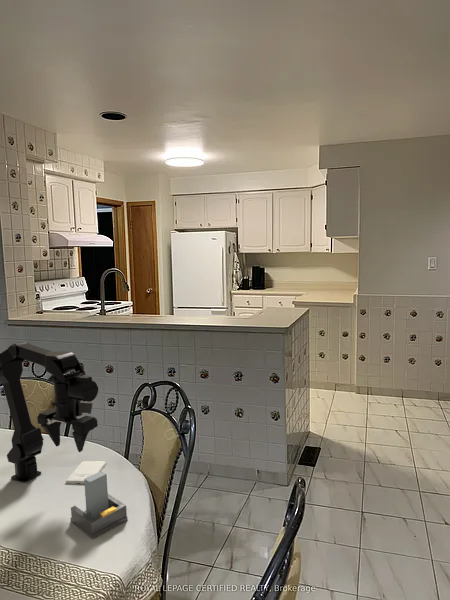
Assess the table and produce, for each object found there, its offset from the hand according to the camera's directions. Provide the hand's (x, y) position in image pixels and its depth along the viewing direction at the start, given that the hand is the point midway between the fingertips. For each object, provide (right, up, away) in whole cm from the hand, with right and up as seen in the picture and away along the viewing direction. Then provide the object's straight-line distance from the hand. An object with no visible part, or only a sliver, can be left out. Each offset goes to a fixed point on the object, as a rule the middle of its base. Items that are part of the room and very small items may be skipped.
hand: (69, 448), depth 129 cm
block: (+12, -13, -13) cm, 22 cm away
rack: (+13, -14, -14) cm, 23 cm away
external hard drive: (+2, -13, +12) cm, 17 cm away
